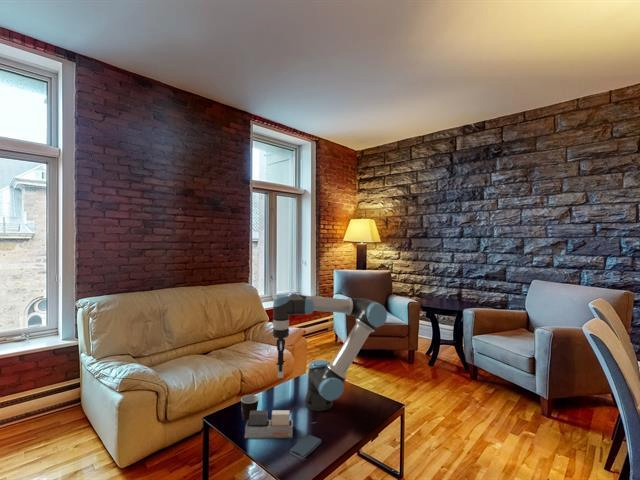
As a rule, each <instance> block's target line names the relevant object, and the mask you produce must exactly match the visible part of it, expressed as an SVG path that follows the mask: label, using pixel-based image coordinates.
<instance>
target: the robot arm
mask: <svg viewBox="0 0 640 480" xmlns="http://www.w3.org/2000/svg"><path fill="white" fill-rule="evenodd" d="M272 308H273V309H272V310H273V311H272V312H273V315H272V318H273V319H272V321H271V324H272V326H273V329H272V337H274V338H276V349H277V350H276V351H277V352H278V353H277V362H276V364H275V365H276V366H277V379H280V378H281V379H283V378H284V363H285V361H286V360H284V352H285V345H286V339H285V338H288V337H289V336H290V316H297V315H298V316H299V315H311V314H312V313H314V312H315V311H316V312H327V313H338V314H339V313H340V314H341V313H342V314H346V315H347V316H353V317H355V325H353V328H352V329H351V330H350V332H349V334H348V336H347V338H346V339H345V341H344V342H343V343H342V345H341V347H340V348H339V350H338V352H337V353H336V355H335V357H334V359H333V360H332V362H330V361H329V360H325V359H318V360H317V359H316V360H312V361H310V362H309V364H308V383H307V384H308V386H307V387H308V388H307V391H306V395H305V398H304V406H305V408H306V409H308V410H309V411H310V410H311V411H314V412H323V411H324V410H325V411H328V410H330V409H331V408H332V407H333V401H334V400H335V401H336V400H337V399H339V398H340V397H341V396H342V395H343V393H344V382H345V381H346V380H347V376H346V373H347V371H348V370H349V368H350V367H351V365H352V363H353V361H354V360H355V358H356V357H357V355H358V354H359V352H360V350H361V349H362V347H363V346H364V344H365V342H366V340H367V339H368V338H369V335H370V334H371V333H374V332H375V331H376V330H377V328H380V327H382V326H383V325H384V324H385V323H386V322H387V318H388V314H387V309H386V308H385V306H384V305H383V304H381V303H379V302H377V301H374V300H371V299H369V298H360V297H358V298H357V297H355V298H354V297H348V298H347V299H346V298H338V297H337V298H336V297H335V298H334V297H326V296H325V297H324V296H317V295H316V296H315V295H304V294H303V295H302V294H297V293H290V294H288V295H286V294H277V295H275V296H274V297H273V304H272ZM329 408H330V409H329ZM327 409H328V410H327Z"/></svg>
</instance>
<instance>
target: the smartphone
mask: <svg viewBox="0 0 640 480" xmlns="http://www.w3.org/2000/svg"><path fill="white" fill-rule="evenodd" d="M322 442H323V441H322V439H321V438H318V437H316V436H313V435H311V434H308V435H307V436H305V437H304V438H303V439H301V440H300V441H299V442H297V443H296V444H295V445H294V446H293V447H291V448H290V449H289V454H290V455H293V456H294V457H296V458H298V459H301V460H305V458H306V457H308V456H309V455H310V454H311V453H312V452H313V451H315V449H317V447H319V446H320V445H321V444H322Z"/></svg>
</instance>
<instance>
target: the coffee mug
mask: <svg viewBox="0 0 640 480" xmlns="http://www.w3.org/2000/svg"><path fill="white" fill-rule="evenodd" d="M259 399H260V397H259V396H258V395H256V394H247V395H244V396H242V397H241V398H240V405H241V417H242V418H241V419H242V422H243V421H244V422H243V423H247V420H249V414H250V411H258V406H259Z"/></svg>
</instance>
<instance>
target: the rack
mask: <svg viewBox="0 0 640 480" xmlns="http://www.w3.org/2000/svg"><path fill="white" fill-rule="evenodd" d="M268 414H269V411H268V410H257V411H250V414H249V420H247V423H246V424H245V427H244V439H293V434H294V433H293V431H294V428H293V427H294V420H293V419H289V426H271V424H272V419H268Z"/></svg>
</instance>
